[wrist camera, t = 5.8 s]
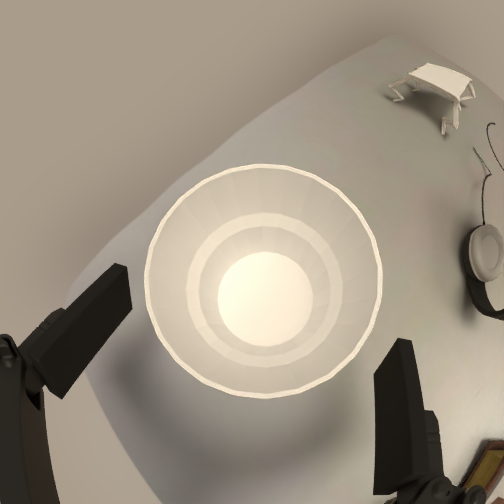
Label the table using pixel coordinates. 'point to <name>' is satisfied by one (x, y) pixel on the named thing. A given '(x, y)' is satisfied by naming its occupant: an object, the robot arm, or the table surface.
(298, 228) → the cup
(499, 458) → the book
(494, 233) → the headphones
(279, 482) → the table surface
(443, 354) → the table surface
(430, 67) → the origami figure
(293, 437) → the table surface
